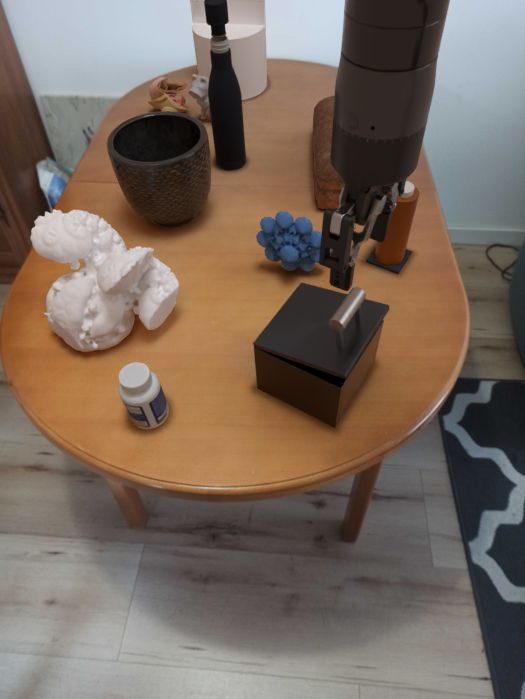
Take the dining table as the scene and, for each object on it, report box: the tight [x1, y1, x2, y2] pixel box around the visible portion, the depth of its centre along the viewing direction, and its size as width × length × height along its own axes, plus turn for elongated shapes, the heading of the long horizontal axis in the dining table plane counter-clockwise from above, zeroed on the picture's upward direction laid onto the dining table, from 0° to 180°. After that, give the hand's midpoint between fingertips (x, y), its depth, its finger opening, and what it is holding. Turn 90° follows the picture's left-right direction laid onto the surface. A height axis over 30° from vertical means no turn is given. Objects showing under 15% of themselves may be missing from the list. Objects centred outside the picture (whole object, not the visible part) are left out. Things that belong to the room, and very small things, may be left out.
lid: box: [252, 282, 390, 379], centre depth 63 cm, size 13×13×6 cm
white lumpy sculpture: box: [29, 208, 180, 353], centre depth 78 cm, size 19×20×20 cm
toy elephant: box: [146, 76, 189, 113], centre depth 119 cm, size 9×10×10 cm
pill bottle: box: [117, 361, 170, 430], centre depth 67 cm, size 5×5×10 cm
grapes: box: [255, 210, 322, 272], centre depth 82 cm, size 12×7×12 cm, turn 80°
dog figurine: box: [187, 73, 210, 120], centre depth 116 cm, size 5×13×11 cm, turn 144°
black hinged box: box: [253, 319, 385, 429], centre depth 70 cm, size 13×13×10 cm
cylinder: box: [189, 0, 268, 101], centre depth 118 cm, size 17×17×28 cm
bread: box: [311, 94, 345, 210], centre depth 101 cm, size 17×29×11 cm, turn 178°
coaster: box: [365, 246, 413, 275], centre depth 88 cm, size 6×6×1 cm
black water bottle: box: [204, 0, 247, 171], centre depth 96 cm, size 6×6×30 cm
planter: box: [106, 111, 212, 229], centre depth 92 cm, size 17×17×16 cm
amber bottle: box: [374, 180, 420, 265], centre depth 83 cm, size 5×5×14 cm
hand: (358, 261), depth 53 cm, fingers open, 8 cm apart
